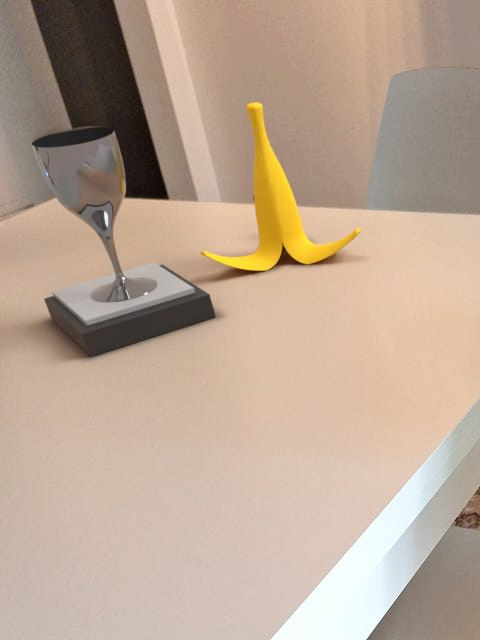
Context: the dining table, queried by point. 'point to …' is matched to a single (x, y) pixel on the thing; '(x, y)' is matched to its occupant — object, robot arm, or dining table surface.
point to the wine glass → (91, 193)
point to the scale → (128, 310)
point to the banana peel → (276, 212)
